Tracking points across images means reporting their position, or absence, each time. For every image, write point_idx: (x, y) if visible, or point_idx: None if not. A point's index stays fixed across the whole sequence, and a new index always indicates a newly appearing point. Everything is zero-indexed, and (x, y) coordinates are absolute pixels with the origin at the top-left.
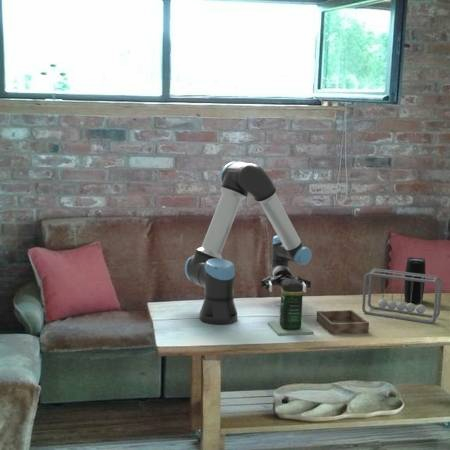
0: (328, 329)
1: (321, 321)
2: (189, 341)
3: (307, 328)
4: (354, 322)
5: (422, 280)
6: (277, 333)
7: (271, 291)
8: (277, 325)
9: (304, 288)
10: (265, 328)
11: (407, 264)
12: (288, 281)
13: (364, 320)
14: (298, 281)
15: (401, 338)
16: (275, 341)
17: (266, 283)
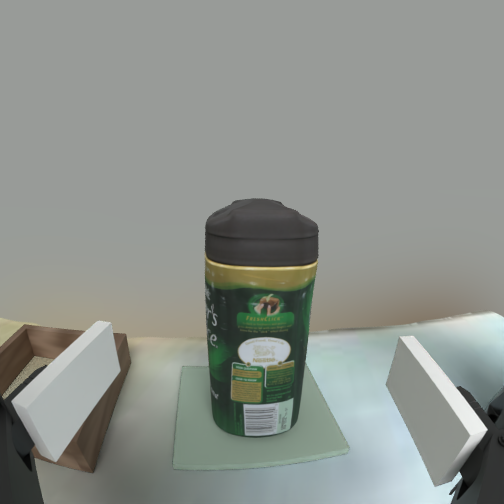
0: (123, 371)
1: (103, 413)
2: (477, 326)
3: (189, 389)
4: (53, 332)
5: None
6: (306, 365)
7: (389, 381)
8: (305, 416)
9: (113, 343)
10: (350, 411)
11: None
12: (282, 205)
13: (16, 335)
14: (221, 213)
15: (10, 321)
16: (310, 340)
17: (483, 414)
